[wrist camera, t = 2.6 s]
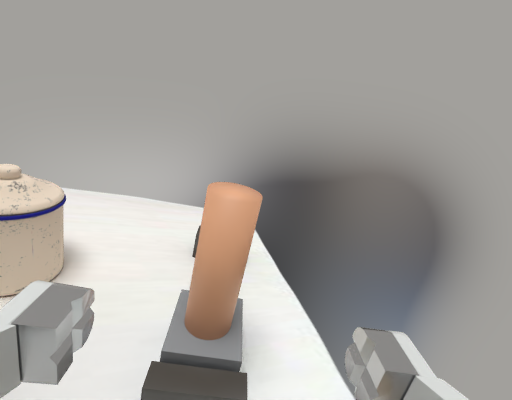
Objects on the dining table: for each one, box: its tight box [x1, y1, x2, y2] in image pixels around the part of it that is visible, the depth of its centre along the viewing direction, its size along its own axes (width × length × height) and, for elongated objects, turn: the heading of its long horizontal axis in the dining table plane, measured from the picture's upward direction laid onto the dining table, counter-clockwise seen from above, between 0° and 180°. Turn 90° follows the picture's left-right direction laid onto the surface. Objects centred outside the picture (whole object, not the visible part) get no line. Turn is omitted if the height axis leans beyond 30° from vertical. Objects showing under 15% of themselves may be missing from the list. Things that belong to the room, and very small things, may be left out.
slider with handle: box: [160, 182, 262, 372], centre depth 23 cm, size 7×6×16 cm
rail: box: [141, 226, 247, 400], centre depth 31 cm, size 25×7×4 cm, turn 2°
